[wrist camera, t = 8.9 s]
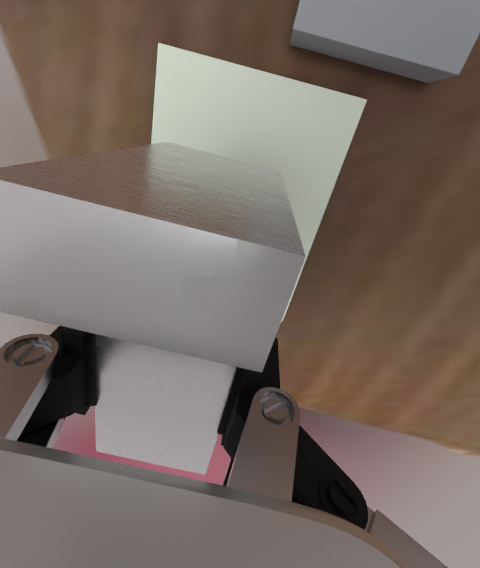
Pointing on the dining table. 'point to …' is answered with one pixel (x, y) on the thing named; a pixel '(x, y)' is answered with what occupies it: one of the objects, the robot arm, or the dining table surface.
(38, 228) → the white pedestal stand
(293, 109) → the mat
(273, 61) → the dining table surface
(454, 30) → the vise jaws
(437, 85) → the dining table surface
